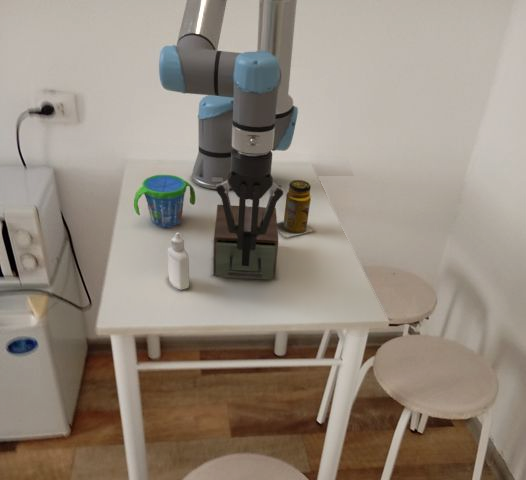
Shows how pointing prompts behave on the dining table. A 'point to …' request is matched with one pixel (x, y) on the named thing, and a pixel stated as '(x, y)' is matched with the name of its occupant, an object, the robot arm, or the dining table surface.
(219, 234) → the cabinet
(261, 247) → the drawer
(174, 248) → the eye dropper bottle
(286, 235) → the condiment
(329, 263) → the dining table surface
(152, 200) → the snack cup
